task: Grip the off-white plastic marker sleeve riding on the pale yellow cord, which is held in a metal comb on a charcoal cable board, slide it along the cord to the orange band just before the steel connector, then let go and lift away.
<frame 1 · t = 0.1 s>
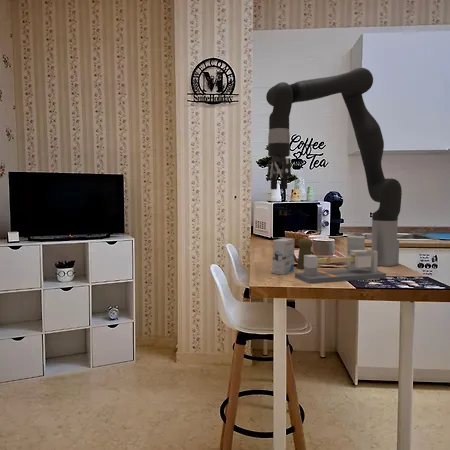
hand: (278, 189, 146), 29 cm above the breakfast bar, fingers open, 8 cm apart
skincare box: (355, 269, 152), on the breakfast bar
cable board: (340, 277, 136), on the breakfast bar
olive pawn shape: (304, 268, 154), on the breakfast bar
marker sleeve: (359, 258, 138), point 6 cm above the breakfast bar, slide at 0.0 cm
ink box: (283, 272, 146), on the breakfast bar
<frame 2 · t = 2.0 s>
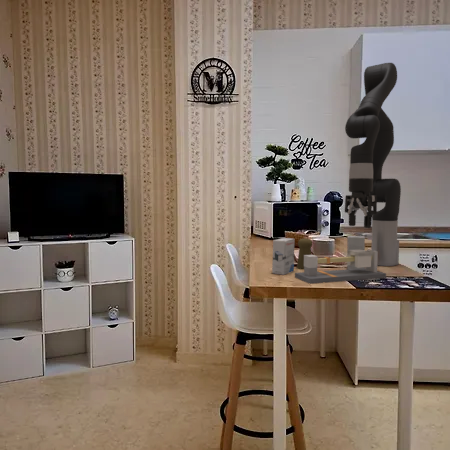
hand: (359, 226, 137), 17 cm above the breakfast bar, fingers open, 8 cm apart
nothing on the breakfast bar moved.
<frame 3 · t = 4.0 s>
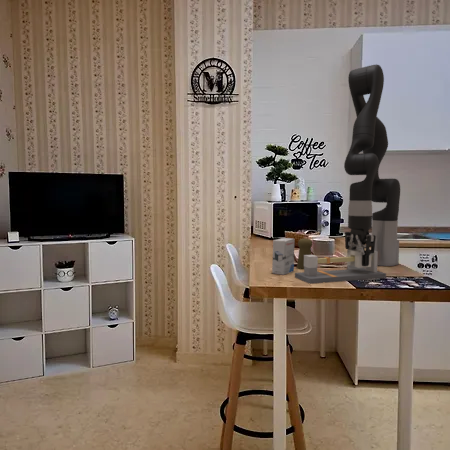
hand: (358, 264, 138), 4 cm above the breakfast bar, fingers closed on marker sleeve, 6 cm apart
marker sleeve: (359, 258, 138), point 6 cm above the breakfast bar, slide at 0.0 cm, touching gripper
everything else where it was.
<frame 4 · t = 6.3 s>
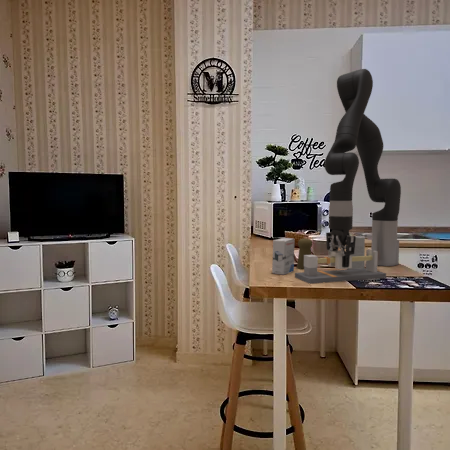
hand: (339, 265, 136), 4 cm above the breakfast bar, fingers closed on marker sleeve, 6 cm apart
marker sleeve: (339, 259, 136), point 6 cm above the breakfast bar, slide at 7.3 cm, touching gripper
everything else where it was.
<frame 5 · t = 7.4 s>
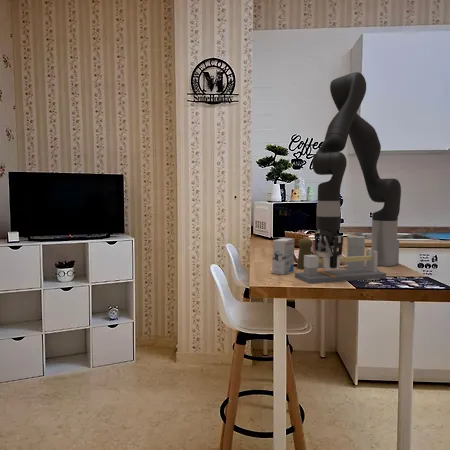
hand: (327, 266, 135), 4 cm above the breakfast bar, fingers closed on marker sleeve, 6 cm apart
marker sleeve: (327, 260, 134), point 6 cm above the breakfast bar, slide at 11.8 cm, touching gripper
everything else where it was.
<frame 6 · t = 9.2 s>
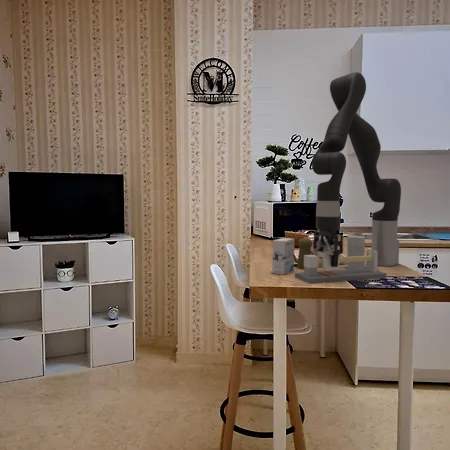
hand: (327, 264, 135), 5 cm above the breakfast bar, fingers open, 8 cm apart
marker sleeve: (327, 260, 134), point 6 cm above the breakfast bar, slide at 11.9 cm
everything else where it was.
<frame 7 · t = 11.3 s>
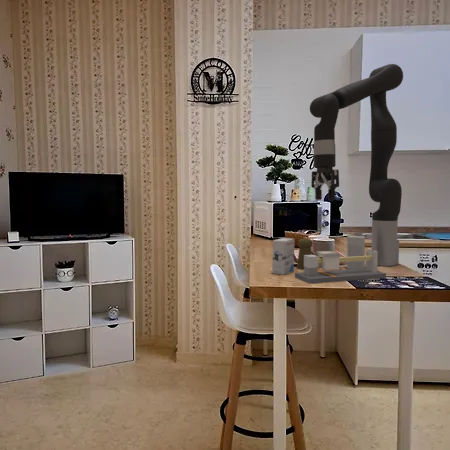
hand: (324, 199, 147), 25 cm above the breakfast bar, fingers open, 8 cm apart
nothing on the breakfast bar moved.
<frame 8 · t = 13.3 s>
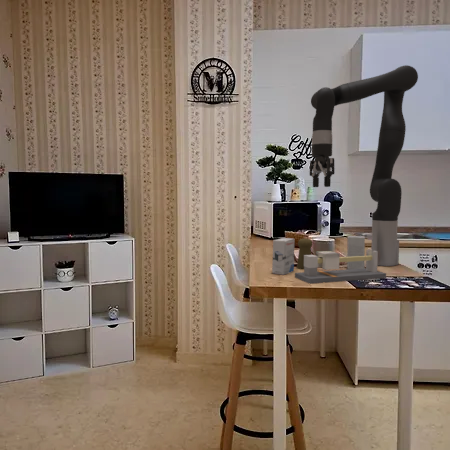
hand: (321, 187, 156), 30 cm above the breakfast bar, fingers open, 8 cm apart
nothing on the breakfast bar moved.
at the end: marker sleeve slide at 11.9 cm; the gripper is holding nothing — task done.
